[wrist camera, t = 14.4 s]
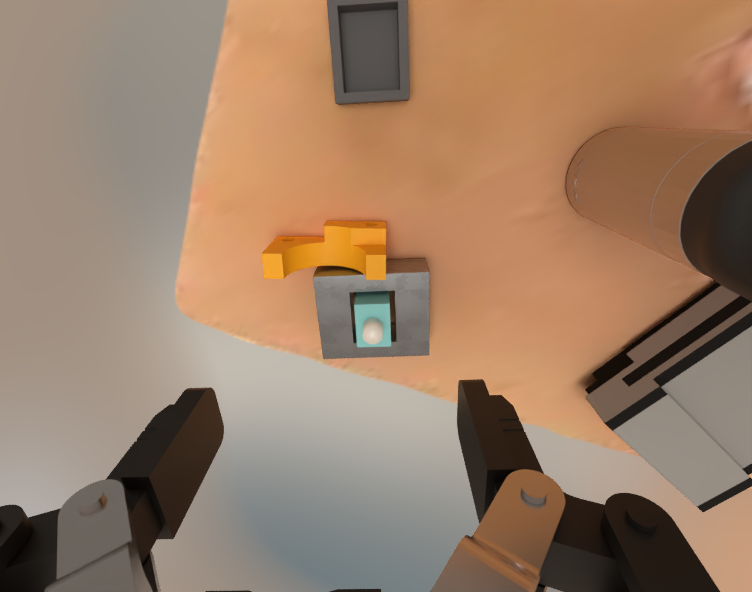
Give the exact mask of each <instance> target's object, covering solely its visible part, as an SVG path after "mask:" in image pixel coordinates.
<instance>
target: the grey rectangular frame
mask: <svg viewBox="0 0 752 592" xmlns="http://www.w3.org/2000/svg"><path fill="white" fill-rule="evenodd" d="M327 6H328V18H329V30H330V42H331V54H332V65H333V77H334V89H335V101H336V104H339V105H342V104H359V103H376V102H393V101H408V100H409V46H408V0H327Z"/></svg>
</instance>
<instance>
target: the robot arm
mask: <svg viewBox="0 0 752 592" xmlns="http://www.w3.org/2000/svg"><path fill="white" fill-rule="evenodd" d="M566 190H567V196H568V199H569V201H570V203H571V205H572V206H573V207H574V209H575V210H576V211H577V212H578V213H580V214H581V215H582V216H584V217H586V218H588V219H590V220H592V221H594V222H597V223H599V224H601V225H602V226H604V227H607V228H609V229H611V230H613V231H615V232H617V233H619V234H621V235H623V236H625V237H627V238H629V239H631V240H634V241H636V242H638V243H640V244H642V245H644V246H646V247H648V248H650V249H652V250H654V251H656V252H658V253H661V254H663V255H665V256H667V257H669V258H671V259H673V260H675V261H678V262H680V263H682V264H684V265H686V266H688V267H690V268H692V269H694V270H696V271H698V272H701V273H703V274H705V275H707V276H709V277H711V278H712V279H714V280H715V281H716V282H717V283H719V284H720V285H722V286H724V287H725V288H727V289H729V290H730V291H732V292H734V293H736V294H738V295H740V296H742V297H744V298H746V299H748V300H750V301H752V131H732V130H700V129H668V128H641V127H617V128H613V129H609V130H606V131H604V132H602V133H600V134H597V135H596V136H594V137H593V138H592V139H590V140H589V141H587V142H586V143H585V144H584V145H583V146H582V148H581V149H580V150H579V151H578V152H577V154H576V155H575V157H574V158H573V160H572V162H571V165H570V167H569V170H568V174H567V178H566ZM457 409H458V410H457V427H458V435H459V440H460V444H461V449H462V453H463V457H464V461H465V465H466V470H467V473H468V478H469V482H470V487H471V491H472V495H473V499H474V503H475V508H476V512H477V516H478V520H479V526H478V528H477V530H476V531H475V533H474V535H473V536H472V537H470V536H468V535H466V536H465V537H464V538H463V539H462V540H461V541H460V543H459V544H458V546H457V547H456V549H455V551H454V552H453V554H452V556H451V557H450V559H449V561H448V562H447V564H446V566H445V568H444V569H443V571H442V573H441V574H440V576H439V578H438V579H437V581H436V583H435V585H434V586H433V588H432V589H431V591H430V592H546V590H547V587H551V588H554V589H557V590H560V591H563V592H720V591H719V589H718V588H717V586H716V585H715V583H714V582H713V580H712V579H711V577H710V576H709V574H708V573H707V571H706V569H705V568H704V566H703V565H702V563H701V562H700V560H699V559H698V557H697V556H696V554H695V553H694V551H693V550H692V548H691V547H690V545H689V543H688V542H687V541H686V539H685V537H684V536H683V534H682V533H681V531H680V530H679V528H678V527H677V525H676V524H675V522H674V521H673V519H672V518H671V517H670V516H669V515H668V514H667V512H666V511H664V510H663V509H662V508H661V507H660V506H658V505H656V504H655V503H654V502H652V501H650V500H648V499H646V498H644V497H642V496H639V495H635V494H630V493H618V494H614V495H612V496H611V497H609V498H608V499H607V501H606V503H605V505H603V504H599V503H595V502H591V501H587V500H583V499H579V498H576V497H573V496H570V495H568V494H566V493H564V492H563V491H562V489H561V488H560V486H559V485H558V484H557V483H556V482H555V481H554V480H553V479H551V478H550V477H548V476H547V475H545V474H544V473H543V471H542V469H541V466H540V464H539V462H538V460H537V458H536V455H535V453H534V451H533V449H532V447H531V444H530V442H529V440H528V438H527V435H526V433H525V432H524V429H523V427H522V424H521V422H520V421H519V418H518V416H517V413H516V411H515V409H514V407H513V405H512V404H510V403H509V402H508V401H507V400H506V399H505V398H504V397H503V396H502V395H489V393H488V390H487V388H486V385H485V382H484V380H482V379H481V380H459V385H458V408H457ZM223 434H224V426H223V421H222V417H221V413H220V410H219V406H218V402H217V399H216V395H215V392H214V390H213V389H212V388H188V389H186V390H185V391H184V392H183V393H182V395H181V396H180V397H179V399H178V400H177V402H176V403H175V404H174V405H169V406H167V407H166V408H165V409H163V410H162V411H161V412H159V413H158V414H157V415H155V417H154V418H153V419H152V420H151V422H150V423H149V424H148V425H147V427H146V428H145V431H143V432H142V433H141V435H140V436H139V437H138V438H137V442H134V444H133V445H132V446H131V447H130V449H129V450H128V451H127V453H126V454H125V455H124V457H123V458H122V459H121V460H120V462H119V463H118V464H117V466H116V467H115V468H114V469H113V471H112V472H111V473H110V475H109V476H108V477H107V479H106V480H101V481H98V482H95V483H92V484H90V485H88V486H86V487H84V488H83V489H81V490H79V491H78V492H76V493H75V494H74V495H73V496H71V497H70V498H69V499H68V500H67V501H66V502H65V504H64V505H63V506H62V508H61V509H57V510H54V511H50V512H47V513H43V514H40V515H36V516H32V517H29V518H28V517H27V516H26V514H25V512H24V511H23V509H22V508H21V507H19V506H17V505H5V506H1V507H0V592H161V590H160V585H159V580H158V575H157V571H156V566H155V561H154V556H153V554H152V551H151V549H152V547H153V545H154V543H155V541H156V539H173V538H174V537H175V535H176V533H177V531H178V529H179V527H180V525H181V523H182V521H183V519H184V517H185V515H186V513H187V511H188V509H189V507H190V505H191V503H192V501H193V499H194V497H195V495H196V493H197V491H198V489H199V487H200V485H201V483H202V481H203V479H204V477H205V475H206V473H207V471H208V469H209V467H210V465H211V463H212V461H213V459H214V457H215V455H216V453H217V451H218V449H219V447H220V445H221V443H222V439H223ZM206 592H251V591H206ZM331 592H381V589H341V590H340V589H339V590H334V591H331Z"/></svg>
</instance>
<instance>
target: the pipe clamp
mask: <svg viewBox="0 0 752 592" xmlns="http://www.w3.org/2000/svg"><path fill="white" fill-rule="evenodd" d="M262 262H263V270H264V279H284V278H285V277H286V276H287V275H289V274H290V273H292V272H294V271H297V270H300V269H303V268H308V267H314V266H343V267H348V268H352V269H355V270H358V271H360V272H361V273H363V274H364V275H365V277H366V280H386V222H379V221H326V223H325V225H324V237H314V236H277V237H276V238H275V239H274V241H273V242H272V243H271V244H270V245H269V246H268V247H267V248H266V249H265V250H264V251H263V253H262Z"/></svg>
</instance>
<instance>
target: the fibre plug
mask: <svg viewBox="0 0 752 592" xmlns="http://www.w3.org/2000/svg"><path fill="white" fill-rule="evenodd" d="M354 311H355V324H356V338H357V347H388V346H391V327H390V298H389V291H370V292H356V296H355V302H354Z"/></svg>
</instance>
